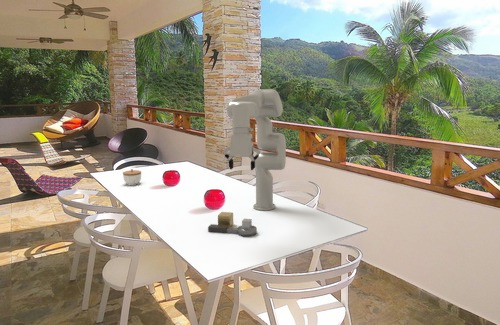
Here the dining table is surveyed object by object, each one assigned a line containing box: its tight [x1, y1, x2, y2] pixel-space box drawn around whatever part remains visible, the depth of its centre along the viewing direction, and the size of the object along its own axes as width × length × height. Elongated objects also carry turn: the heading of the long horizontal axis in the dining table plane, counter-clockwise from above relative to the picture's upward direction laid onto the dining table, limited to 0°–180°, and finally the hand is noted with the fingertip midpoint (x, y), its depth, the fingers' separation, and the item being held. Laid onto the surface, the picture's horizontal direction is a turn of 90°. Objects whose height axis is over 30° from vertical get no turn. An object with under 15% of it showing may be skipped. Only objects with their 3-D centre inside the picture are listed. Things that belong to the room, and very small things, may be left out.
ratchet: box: [207, 218, 258, 238], centre depth 188 cm, size 9×23×6 cm, turn 75°
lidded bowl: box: [122, 169, 142, 186], centre depth 286 cm, size 13×13×11 cm
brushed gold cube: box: [217, 211, 234, 227], centre depth 197 cm, size 6×6×6 cm
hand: (241, 169), depth 178 cm, fingers open, 9 cm apart
